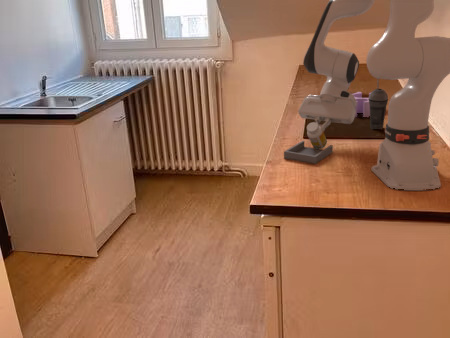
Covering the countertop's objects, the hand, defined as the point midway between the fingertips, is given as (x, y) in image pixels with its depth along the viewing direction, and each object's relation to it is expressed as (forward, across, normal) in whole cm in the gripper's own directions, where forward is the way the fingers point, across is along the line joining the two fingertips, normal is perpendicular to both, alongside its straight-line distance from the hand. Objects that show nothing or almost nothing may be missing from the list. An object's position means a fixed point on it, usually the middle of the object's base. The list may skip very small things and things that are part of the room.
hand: (319, 130), depth 163 cm
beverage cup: (-18, +9, +27) cm, 33 cm away
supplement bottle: (+3, 0, +4) cm, 5 cm away
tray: (+11, 0, -2) cm, 11 cm away
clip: (-33, -5, +43) cm, 54 cm away
